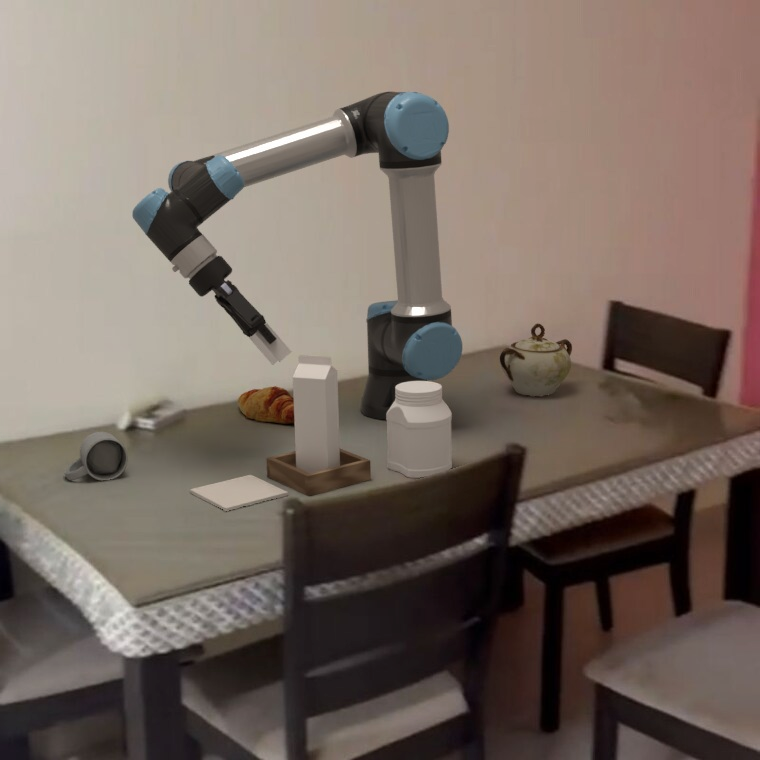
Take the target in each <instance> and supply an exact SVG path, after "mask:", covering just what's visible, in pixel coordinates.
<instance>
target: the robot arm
mask: <svg viewBox="0 0 760 760" xmlns="http://www.w3.org/2000/svg"><path fill="white" fill-rule="evenodd" d="M448 119H449V118H448V116H447V113H446V111H445V110H444V108H443V107H442V105H441V104H440V103H439V102H438V101H437V100H435V99H434V98H433V97H431V96H429V95H428V94H427V95H426V94H423V93H421V92H420V93H419V92H417V91H384V92H379V93H377V94H373V95H371V96H369V97H366V98H364V99H361V100H359V101H357V102H353V103H351V104H349V105H346V106H344V107H340V108H337V109H336V110H335V111H334V113H333V114H332V115H331V117H327V118H324V119H320V120H317V121H315V122H311V123H309V124H305V125H302V126H299V127H295V128H293V129H290V130H287V131H283V132H280V133H277V134H274V135H271V136H267V137H264V138H261V139H258V140H255V141H252V142H249V143H245V144H243V145H240V146H237V147H236V146H235V147H233V148H231V149H228V150H224V151H221V152H217V153H214V154H212V155H208V156H205V157H201V158H199V159H196V160H185V161H182V162H178V163H177V164H175V165H174V166H173V167H172V169H171V170H170V172H169V173H168V179H167V182H168V183H167V184H168V188H169V190H170V192H168V191H166V190H165V189H163V188H162V187H160V188H156V189H154V190H153V191H152V192H151V193H148V194H147V195H146V196H145V197H144V198H142V199H141V200H140V201H139V202H138V203H137V204H136V205H135V207H134V208H133V210H132V218H133V220H134V221H135V223H136V224H137V225H138V226H139V228H140V229H141V230H142V232H143V233H144V235H145V236H146V237H147V238H148V239H149V240H150V241H151V242H152V244H154V246H155V247H156V248H158V250H159V251H160V252H161V253H162V255H163V256H164V257H165V258H166V259H167V260H168V261H169V263H171V265H173V267H172V268H171V269H172V271H173V273H176V272H178V271H179V274H180V275H181V276H182V278H183V279H189V280H188V284H189V286H190V287H191V288H192V289H193V290H194V291H195V293H196V294H197V295H198V296H199V297H204V296H206V295H208V294H209V293H210V292H213V293H214V294H215V295H214V299H215V302H217V304H218V305H219V306H220V307H221V308H223V309H224V311H225V312H226V314H228V315H229V316H230V318H231V319H232V320H233V321H234V322H235V324H236V325H237V326H238V328H239V329H240V330H241V331H242V334H243V335H245V336H246V337H248V338H249V340H250V341H251V342H252V344H253V345H254V346H255V347H256V348H257V349H258V350H259V351H260V352H261V353H262V354H263V356H264V357H265V358H266V359H267V360H268V361H269V363H270V364H271V365H273V366H274V365H275V364H276V363H277V362H279V363H281V361H283V360H284V359H285V358H286V357H288V356H289V355H290V354H291V353H292V352H293V351H292V350H291V349H290V348H289V347H288V345H287V344H286V343H285V342H284V341H283V340H282V338H281V337H280V336H279V335H278V334H277V332H276V331H274V329H273V328H272V327H271V326H270V325H269V324H268V323H267V322H266V321H267V320H266V319H265V316H264V315H263V314H261V313H260V312H259V311H258V310H257V308H255V307H254V306H253V304H252V303H250V301H249V300H248V299H247V298H246V297H245V296H244V295H243V294H242V292H241V291H240V290H239V288H238V287H237V286H236V284H233V282H232V281H230V280H228V279H227V278H228V277H229V276H230V275H231V274H232V272H233V267H232V266H231V265H230V264H229V263H228V262H227V261H226V260H225V259H224V258H223V256H222V255H217V253H218V249H216V248H215V246H213V244H212V243H211V242H210V241H209V239H207V237H206V236H205V235H204V234H203V233H202V232H201V231H200V230H199V228H198V227H200V226H201V225H202V224H203V223H204V222H205V221H207V220H208V219H209V218H210V217H212V216H213V215H214V214H215V213H217V211H219V210H221V208H223V207H224V206H225V205H226V204H228V203H229V202H230V201H232V200H234V199H235V197H236V196H237V195H239V193H240V192H241V191H242V190H243V189H244V188H246V187H249V186H253V185H255V184H258V183H262V182H265V181H268V180H271V179H274V178H277V177H279V176H283V175H286V174H290V173H292V172H297V171H298V170H302V169H305V168H307V167H310V166H314V165H318V164H320V163H323V162H326V161H330V160H332V159H336V158H338V157H342V156H346V157H348V158H350V159H351V158H356V157H358V156H361V155H367V154H377V153H378V164H379V169H380V171H382V172H383V173H384V174H385V175H386V176H387V178H388V185H389V186H388V188H389V201H390V213H391V214H390V215H391V225H392V226H391V228H392V239H393V251H394V253H393V255H394V265H395V277H396V279H395V280H396V288H397V289H396V290H397V300H386V301H379V302H374V303H371V304H370V305H368V307H367V313H366V314H367V315H366V321H365V322H366V324H367V325H366V326H367V327H366V330H367V331H366V333H367V335H366V337H367V360H368V361H367V363H368V366H367V367H368V369H367V370H368V375H367V379H366V383H365V386H364V389H363V395H362V397H361V400H360V412H361V413H362V414H363V416H366V417H368V418H373V419H377V420H384V421H385V420H386V413H387V411H388V410H389V408H390V407H391V405H392V404H393V402H394V401H395V398H396V397H395V395H396V394H395V387H396V385H398V384H400V383H403V382H409V381H435V380H440V379H442V378H444V377H446V376H447V375H449V374H450V373H451V372H453V370H454V369H455V368H456V367H457V365H458V364H459V362H460V359H462V358H461V357H462V352H463V340H462V337H461V335H460V333H459V332H458V330H457V329H456V328H455V327H454V326H453V323H452V321H453V320H452V308H451V307H452V306H451V305H450V304H449V303H448V302H447V301H446V300H445V299H444V298H443V291H442V290H443V289H442V273H441V261H440V260H441V259H440V258H441V257H440V244H439V243H440V242H439V241H440V240H439V230H438V229H439V228H438V213H437V196H436V195H437V194H436V183H435V174H436V172H437V171H438V169H439V168H440V167H441V166H442V165H443V163H442V149H443V147H444V146H445V145H446V143H447V141H448V138H449V132H450V125H449V120H448ZM225 279H227V280H225ZM386 421H387V420H386Z"/></svg>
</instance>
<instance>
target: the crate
mask: <svg viewBox="0 0 760 760" xmlns="http://www.w3.org/2000/svg"><path fill="white" fill-rule="evenodd" d="M371 469H372V468H371V460H370V459H368V458H365V457H363V456H360V455H357V454H355V453H353V452H351V451H347V450H345V449H342V448H340V466H337V467H334V468H330V469H326V470H322V471H318V472H314V473H307V472H305V471H303V470H300V469H298V468H296V450H294V451H290V452H289V451H288V452H286V453H282V454H281V453H280V454H278V455H273V456H269V457H266V477H267V478H269V479H271V480H274V481H275V482H278V483H280V484H282V485H284V486H286V487H289V488H290V489H292V490H295V491H296V492H299V493H301V494H303V495H305V496H308V497H310V496H314V495H318V494H321V493H322V494H323V493H325V492H329V491H333V490H337V489H340V488H344V487H348V486H353V485H356V484H360V483H363V482H367V481H370V480H371V479H372V478H371V477H372V474H371V473H372V472H371V471H372V470H371Z"/></svg>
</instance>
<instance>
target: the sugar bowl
mask: <svg viewBox="0 0 760 760" xmlns="http://www.w3.org/2000/svg"><path fill="white" fill-rule="evenodd" d="M538 328H539V329H540V333H539V334H536V330H537V329H538ZM545 329H546V328H545V327H544V325H543V324H542V323H535V324H534V325H533V326H532V327H531V329H530V334H531V336H530V337H529V338H525V339H521V340H519V341H515V342H513V343H511V345H509V347H505V349H503V350H502V351H501V353H500V356H499V362H500V365H501V368H502V371H503V373H504V375H505V376H506V378H507V379H508V381H509V382H510V384H511V386H512V387H513V389H514V391H515V392H516V393H517V394H520V395H521V396H522V395H523V396H526V395H530V396H529V397H535V396H540V397H544V396H543V395H548V394H551V395H553V394H554V393H555V392H556V390H557V389H559V387H560V385H561V384H562V383H563V382H564V381H565V380H566V378H567V376H568V375H569V373H570V371H571V369H572V360H571V357H570V356H571V355H572V351H573V344H572V342H571V341H570V340H568V339H567V338H566V339H565V338H564V339H561V340H558V341H556V342H555V341H553V340H550V339H548V338H544V337H545V334H546V333H545V332H546V330H545ZM552 393H553V394H552ZM541 395H542V396H541ZM548 396H549V395H548Z"/></svg>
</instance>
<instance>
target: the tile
mask: <svg viewBox="0 0 760 760" xmlns="http://www.w3.org/2000/svg"><path fill="white" fill-rule="evenodd" d="M189 493H190V494H191V495H193V496H195V497H197V498H199V499H201V500H203V501H205V502H207V503H209V502H210V503H211V505H212V504H213V506H214V505H215V507H216V506H217V507H216V508H218V507H219V508H218V509H220V508H221V509H220V510H222V509H223V510H222V511H224V512H226V511H227V512H230V511H229V510H231V511H233V510H232V509H235V508H238V507H242V506H245V505H248V504H254V503H257V502H261V503H263V502H262V501H265V502H267V501H266V500H269V501H271V499H273V500H276V498H277V499H280V498H284V497H287V496H289V492H288V491H286V490H285V489H282V488H280V487H278V486H276V485H273V484H271V483H270V482H268V481H265V480H263V479H261V478H259V477H257V476H254V475H252V474H247V475H244V476H239V477H235V478H232V479H227V480H223V481H219V482H215V483H211V484H206V485H203V486H202V485H201V486H198V487H194V488H190V489H189ZM210 503H209V504H210ZM254 505H255V504H254ZM242 508H243V507H242ZM235 510H236V509H235Z"/></svg>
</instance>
